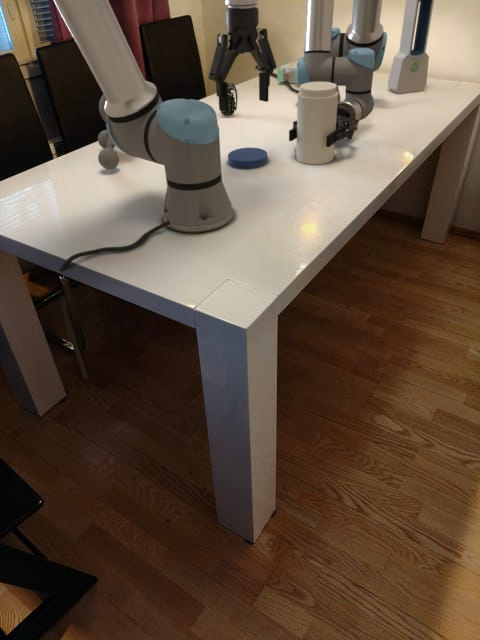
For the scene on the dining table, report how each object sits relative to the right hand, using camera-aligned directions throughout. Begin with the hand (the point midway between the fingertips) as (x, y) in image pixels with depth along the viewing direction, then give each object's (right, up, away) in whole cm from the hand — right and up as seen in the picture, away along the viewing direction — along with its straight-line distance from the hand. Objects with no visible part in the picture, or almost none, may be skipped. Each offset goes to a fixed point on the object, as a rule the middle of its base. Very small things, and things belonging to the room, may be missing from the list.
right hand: (308, 138), depth 127 cm
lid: (-16, -2, +6) cm, 17 cm away
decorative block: (+10, +55, +81) cm, 98 cm away
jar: (+3, -3, +7) cm, 8 cm away
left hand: (-17, +7, -3) cm, 19 cm away
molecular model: (-49, +1, +15) cm, 51 cm away
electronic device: (+45, +40, +58) cm, 84 cm away
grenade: (-22, +24, +43) cm, 54 cm away
